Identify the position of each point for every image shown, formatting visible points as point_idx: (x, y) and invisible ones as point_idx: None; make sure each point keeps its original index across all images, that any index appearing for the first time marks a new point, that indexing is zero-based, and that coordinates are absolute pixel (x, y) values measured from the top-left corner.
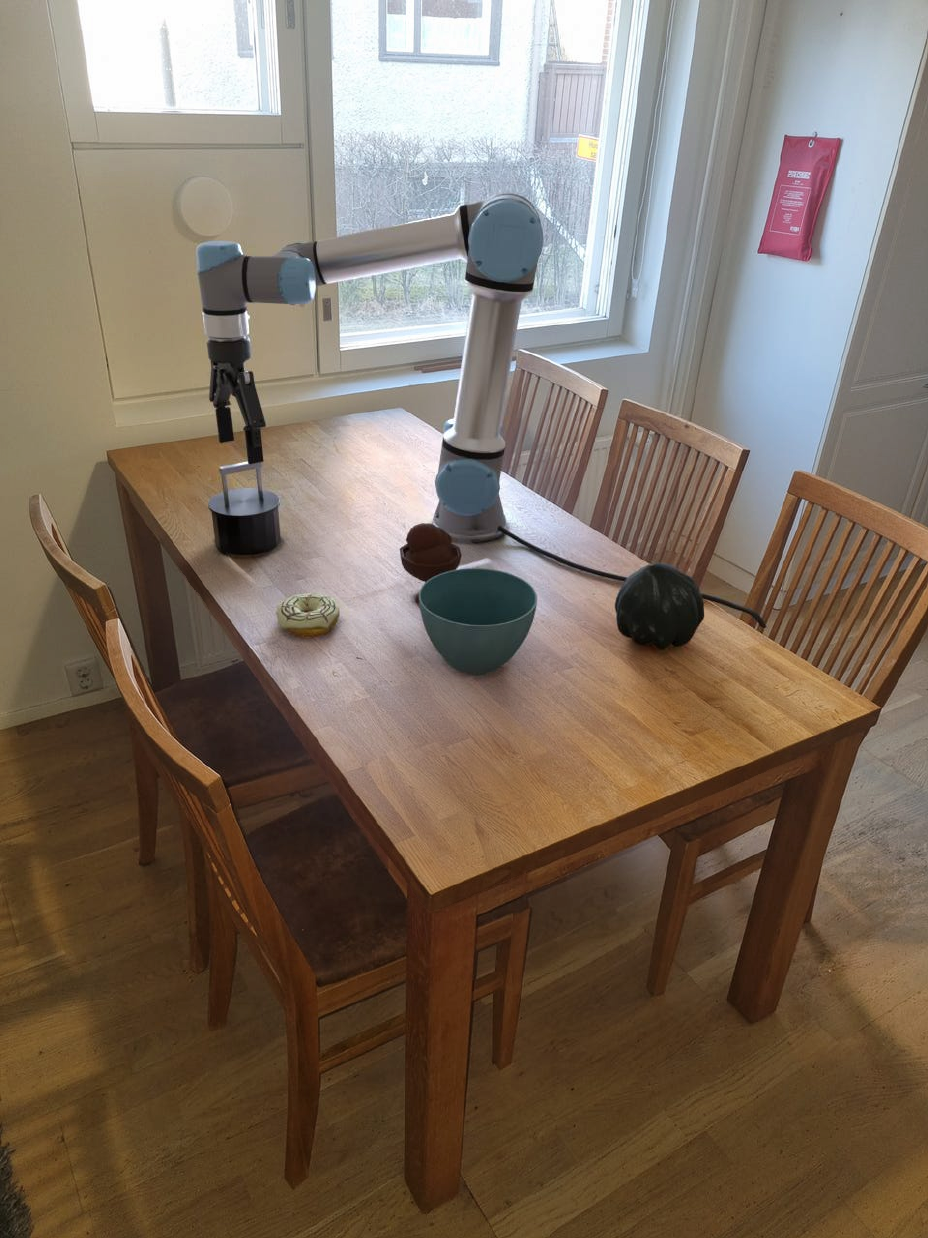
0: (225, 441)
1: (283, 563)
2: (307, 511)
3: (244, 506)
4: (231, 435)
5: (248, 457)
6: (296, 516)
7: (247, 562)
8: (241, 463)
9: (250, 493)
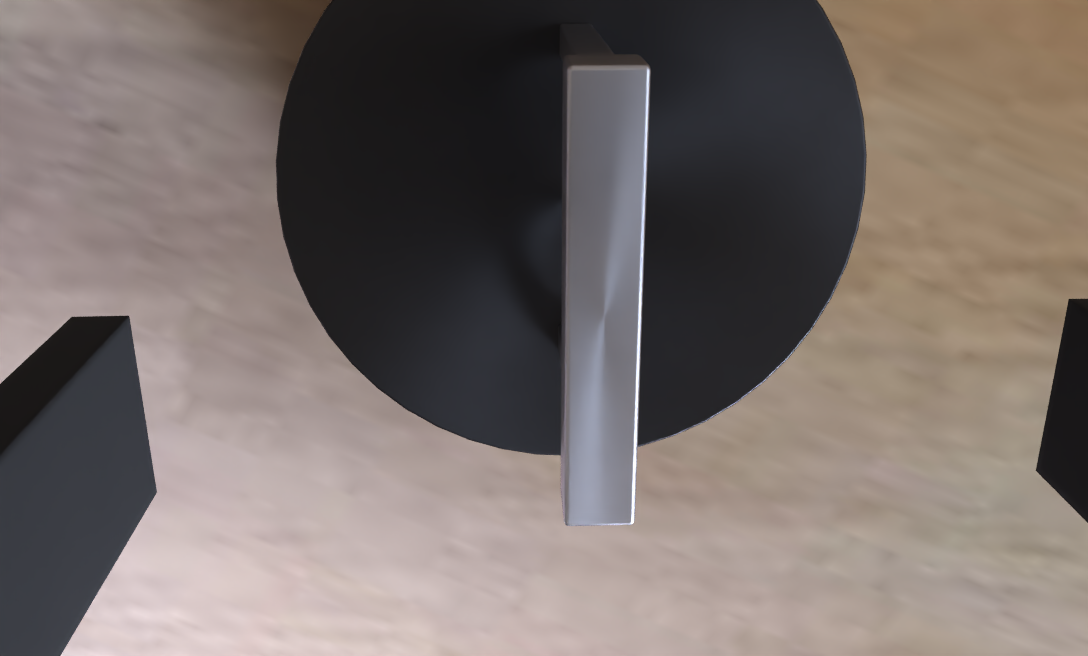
0: (1061, 366)
1: (194, 194)
2: (775, 577)
3: (471, 157)
4: (1080, 483)
5: (53, 351)
6: (750, 505)
7: (305, 8)
8: (614, 332)
9: (700, 302)
